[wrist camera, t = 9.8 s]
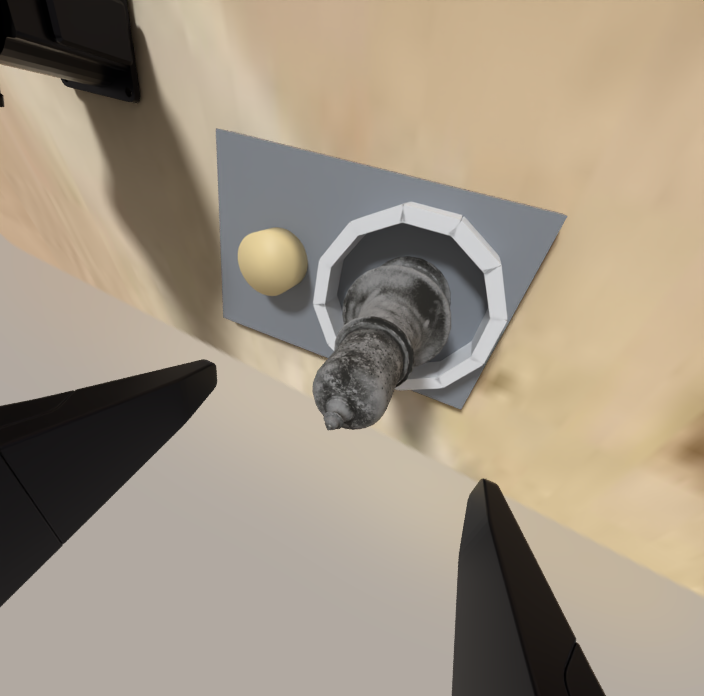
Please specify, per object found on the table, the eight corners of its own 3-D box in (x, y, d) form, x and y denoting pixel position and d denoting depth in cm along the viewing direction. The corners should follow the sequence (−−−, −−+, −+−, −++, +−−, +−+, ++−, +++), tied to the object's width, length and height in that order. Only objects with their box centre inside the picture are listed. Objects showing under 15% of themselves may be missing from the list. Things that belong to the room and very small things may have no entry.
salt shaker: (353, 322, 21) (244, 448, 11) (375, 237, 18) (249, 311, 8) (434, 354, 20) (390, 522, 10) (473, 269, 17) (462, 398, 7)
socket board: (233, 312, 26) (205, 327, 24) (229, 130, 19) (189, 123, 17) (461, 399, 22) (459, 428, 20) (561, 213, 15) (578, 220, 13)
